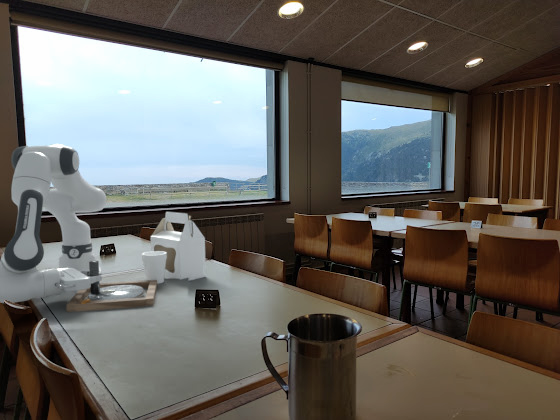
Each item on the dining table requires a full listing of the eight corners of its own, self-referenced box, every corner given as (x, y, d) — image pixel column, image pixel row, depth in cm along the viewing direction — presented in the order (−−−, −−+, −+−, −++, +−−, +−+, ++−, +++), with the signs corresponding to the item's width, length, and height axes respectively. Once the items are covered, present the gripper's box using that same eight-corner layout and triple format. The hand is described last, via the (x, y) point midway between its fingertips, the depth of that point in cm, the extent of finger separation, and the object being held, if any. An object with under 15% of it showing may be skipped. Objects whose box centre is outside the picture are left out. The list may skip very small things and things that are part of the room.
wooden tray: (84, 293, 154) (84, 282, 153) (157, 288, 160) (156, 277, 159) (66, 316, 128) (65, 302, 128) (153, 309, 135) (153, 296, 134)
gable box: (206, 277, 179) (205, 212, 176) (180, 283, 169) (179, 215, 167) (176, 269, 193) (174, 210, 191) (151, 274, 183) (149, 212, 181)
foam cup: (160, 288, 160) (159, 255, 159) (138, 287, 162) (137, 255, 161) (171, 282, 169) (170, 251, 168) (150, 281, 171) (149, 250, 170)
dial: (146, 289, 154) (145, 254, 153) (139, 303, 137) (138, 264, 136) (95, 291, 151) (94, 256, 150) (81, 306, 133) (80, 267, 132)
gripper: (59, 278, 125) (106, 271, 134) (44, 267, 141) (87, 261, 150) (60, 298, 126) (107, 290, 135) (45, 285, 141) (88, 278, 150)
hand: (96, 275), depth 143 cm, fingers open, 8 cm apart
